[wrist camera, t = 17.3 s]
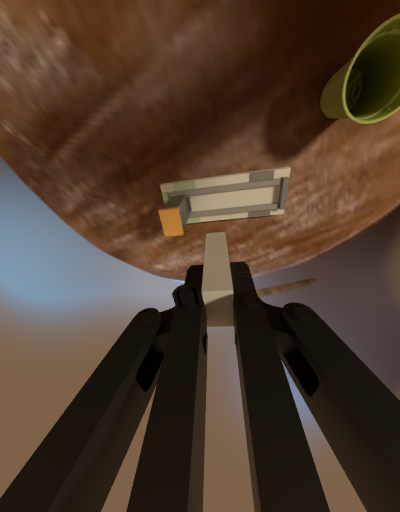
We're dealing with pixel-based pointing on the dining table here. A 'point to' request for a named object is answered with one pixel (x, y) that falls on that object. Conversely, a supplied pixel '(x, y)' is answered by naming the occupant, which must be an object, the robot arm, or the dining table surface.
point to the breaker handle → (175, 215)
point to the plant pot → (368, 79)
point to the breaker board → (233, 194)
